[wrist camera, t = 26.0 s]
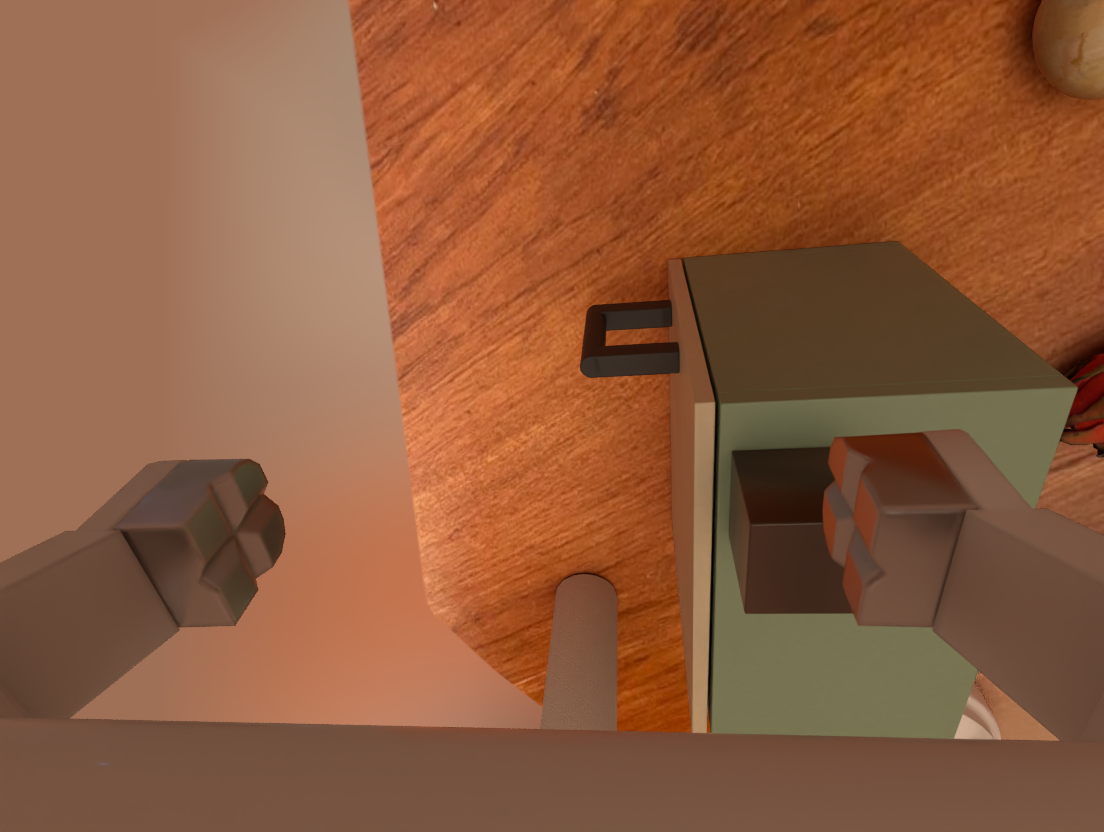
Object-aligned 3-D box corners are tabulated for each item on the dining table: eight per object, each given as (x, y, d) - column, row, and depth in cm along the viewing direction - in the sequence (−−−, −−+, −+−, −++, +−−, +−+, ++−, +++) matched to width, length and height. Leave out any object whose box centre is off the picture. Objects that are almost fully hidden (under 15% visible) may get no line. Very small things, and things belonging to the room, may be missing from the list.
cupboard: (685, 522, 57) (711, 736, 40) (683, 257, 45) (720, 404, 28) (851, 519, 55) (953, 742, 38) (898, 240, 43) (1079, 386, 26)
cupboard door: (607, 525, 58) (600, 731, 41) (585, 265, 45) (564, 409, 29) (682, 524, 57) (706, 734, 40) (681, 258, 45) (715, 402, 28)
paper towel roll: (601, 564, 60) (592, 797, 42) (627, 606, 63) (629, 843, 45) (534, 585, 63) (498, 815, 45) (562, 624, 65) (539, 857, 47)
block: (728, 534, 31) (744, 614, 27) (731, 449, 29) (750, 524, 25) (835, 532, 31) (869, 614, 26) (848, 445, 28) (888, 521, 24)
